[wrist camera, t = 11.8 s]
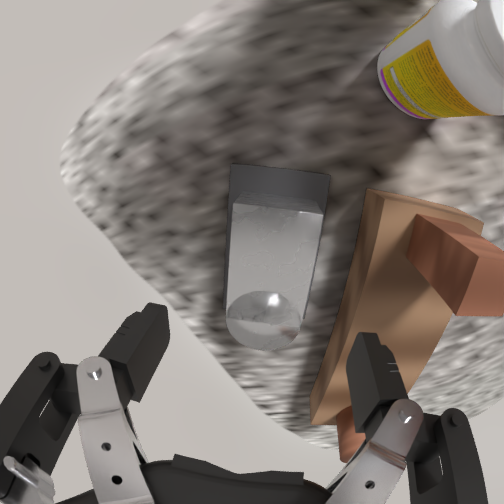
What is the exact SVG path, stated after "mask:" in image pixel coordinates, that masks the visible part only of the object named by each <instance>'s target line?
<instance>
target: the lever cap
mask: <svg viewBox="0 0 504 504" xmlns="http://www.w3.org/2000/svg"><path fill="white" fill-rule="evenodd" d="M322 220H323V213H322V211H321V209H320V208H319V206H318V204H317V202H316V201H315V200H308V199H301V198H294V197H286V196H278V195H270V194H262V193H253V192H242V193H241V194H240V196H239V197H238V198H237V199H236V201H235V202H234V203H233V212H232V226H231V240H230V255H229V271H228V288H227V306H226V324H227V328H228V330H229V332H230V333H231V335H232V336H233V337H234V338H235V339H236V340H237V341H238V342H239V343H241V344H242V345H244V346H246V347H249V348H252V349H256V350H274V349H278V348H281V347H283V346H286V345H287V344H289V343H290V342H291V341H292V340H293V339H294V338H295V337H296V336H297V334H298V332H299V330H300V327H301V323H302V318H303V314H304V310H305V305H306V301H307V296H308V292H309V287H310V283H311V278H312V273H313V268H314V263H315V258H316V253H317V248H318V242H319V237H320V231H321V226H322Z"/></svg>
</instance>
